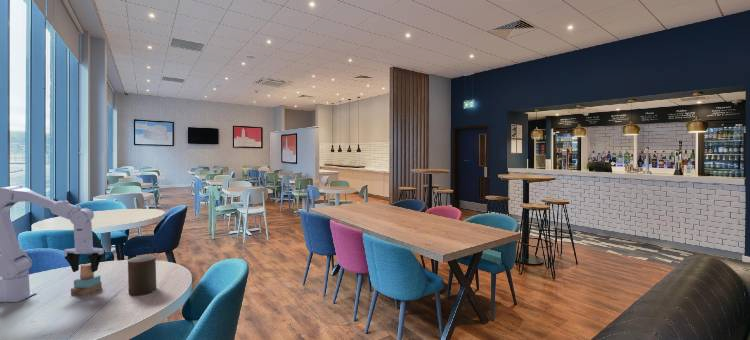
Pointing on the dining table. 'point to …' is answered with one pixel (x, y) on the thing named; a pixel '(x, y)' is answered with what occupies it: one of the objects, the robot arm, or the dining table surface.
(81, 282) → the teal top slab
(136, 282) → the pillar candle
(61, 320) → the dining table surface
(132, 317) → the dining table surface
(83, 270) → the terracotta cylinder
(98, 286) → the walnut base slab
